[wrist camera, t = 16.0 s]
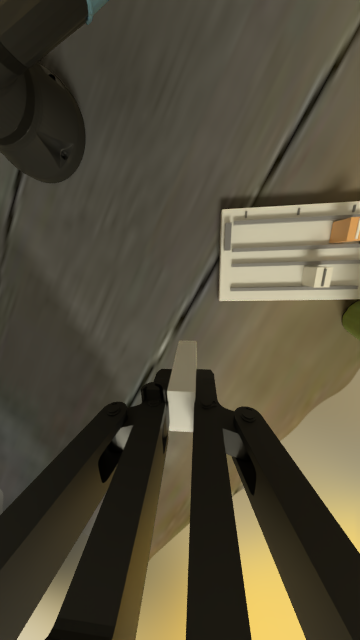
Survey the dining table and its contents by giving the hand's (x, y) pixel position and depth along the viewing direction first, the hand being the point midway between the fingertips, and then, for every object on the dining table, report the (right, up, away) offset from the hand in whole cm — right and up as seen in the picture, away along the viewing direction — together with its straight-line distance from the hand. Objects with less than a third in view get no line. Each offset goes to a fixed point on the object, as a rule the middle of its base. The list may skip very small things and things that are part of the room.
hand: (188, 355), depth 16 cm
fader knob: (+26, +18, +15) cm, 35 cm away
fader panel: (+20, +15, +19) cm, 31 cm away
